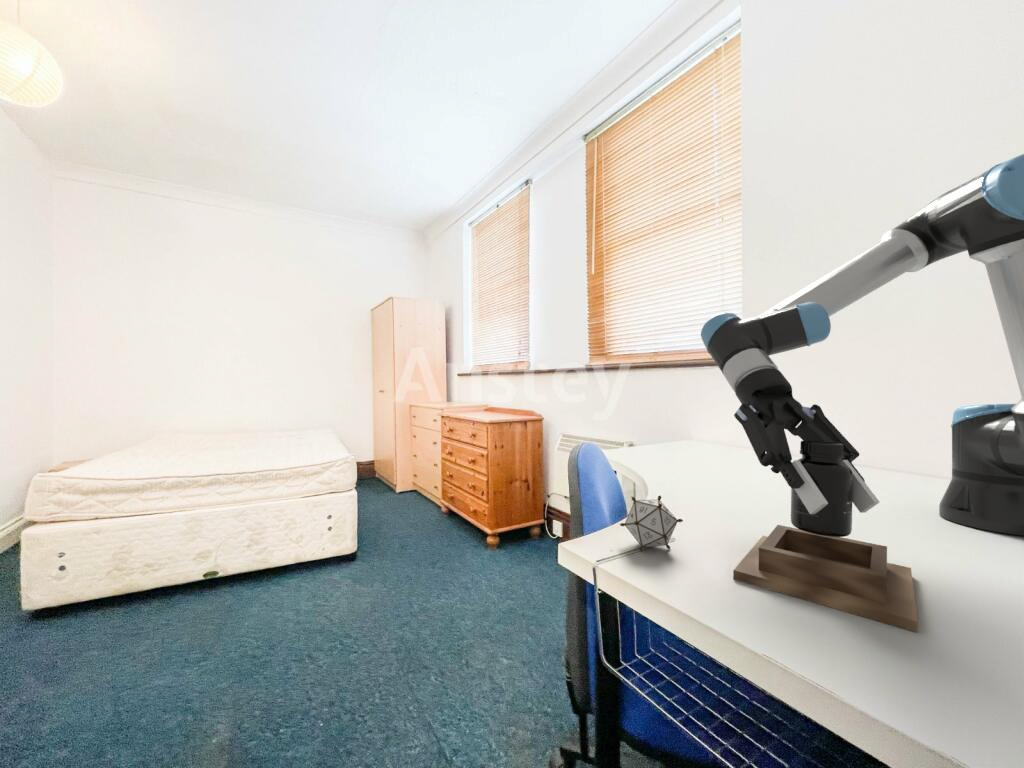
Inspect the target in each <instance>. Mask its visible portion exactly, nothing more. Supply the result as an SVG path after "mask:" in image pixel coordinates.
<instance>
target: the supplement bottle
mask: <svg viewBox="0 0 1024 768" xmlns="http://www.w3.org/2000/svg"><path fill="white" fill-rule="evenodd" d="M843 453H844V445H843V444H840V443H835V442H826V441H803V440H801V441H800V450H799V454H800V455H801V458H798V460H799V461H800V462H801V464H802V465H803V467H804V468H805V470H806V471H807V472H808V474H809V475H810V477H811V478H812V480H813V481H814V483H815V484H816V486H817V487H818V489H819V490H820V492H821V493H822V495H823V496H824V498H825V499H826V501H827V502H828V504H827V505H826V506H825V507H824V508H822V509H821V510H820V511H818V512H817V513H816V514H810V513H809V512H808V510H807V508H806V507H805V505H804V504H803V502H802V500H801V499H800V497H799V496H798V494H797V493H796V491H795V489H792V488H791V487H790V522H791V523H790V524H791V525H792V526H793V527H794V528H797V529H800V530H803V531H806V532H809V533H813V534H817V535H823V536H830V537H842V538H846V537H848V536H850V535H851V533H852V530H853V529H852V528H853V502H852V494H853V472H852V470H851V469H850V467H849V466H847V465H846V464H844V463H843V462H842V458H844V454H843Z"/></svg>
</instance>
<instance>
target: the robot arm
mask: <svg viewBox="0 0 1024 768" xmlns="http://www.w3.org/2000/svg"><path fill="white" fill-rule="evenodd" d="M963 252H968V253H967V254H968V256H969V259H970V260H971V259H972V260H975V261H977V262H980V263H982V264H984V267H985V269H986V272H987V276H988V280H989V283H990V286H991V287H990V288H991V290H992V294H993V298H994V302H995V305H996V308H997V313H998V316H999V320H1000V322H1001V326H1002V330H1003V335H1004V337H1005V342H1006V345H1007V349H1008V352H1009V356H1010V359H1011V363H1012V367H1013V371H1014V374H1015V378H1016V382H1017V386H1018V388H1019V392H1020V397H1021V398H1020V400H1019V401H1018V402H1017V403H995V404H989V403H988V404H975V405H964V406H960V407H958V408H956V409H955V410H954V412H953V416H952V423H951V424H950V428H951V480H950V482H949V484H948V486H947V489H946V490H945V492H944V494H943V496H942V498H941V500H940V501H939V505H938V515H939V516H940V517H941V518H944V519H946V520H948V521H950V522H953V523H955V524H956V523H957V524H959V525H964V526H968V527H971V528H976V529H980V530H985V531H989V532H990V531H991V532H994V533H1001V534H1007V535H1014V536H1015V535H1016V536H1022V537H1024V153H1022V154H1020V155H1017V156H1015V157H1013V158H1010V159H1008V160H1006V161H1003V162H1001V163H998V164H995V165H994V166H992V167H990V168H989V169H988V170H986V171H984V172H983V173H980V174H979V175H977V176H975V177H973V178H971V179H970V180H968V181H966V182H964V183H962V184H960V185H958V186H957V187H955V188H952V189H951V190H948V191H947V192H944V193H943V194H940V195H939V196H937V198H935V199H933V200H932V201H930V202H929V203H928V204H927V205H925V206H923V207H922V208H921V209H919V210H918V211H917V212H915V213H914V214H913V215H911V216H909V218H907V219H906V220H904V221H903V222H901V223H900V224H898V225H897V226H896V227H894V228H892V229H891V230H889V231H887V232H886V233H884V234H883V235H882V237H881V239H880V242H879V243H877V244H876V245H874V246H872V247H871V248H869V249H867V250H865V251H864V252H862V253H861V254H859V255H857V256H855V257H854V258H853V259H850V260H849V261H847V262H846V263H844V264H842V265H841V266H839V267H837V268H836V269H834V270H833V271H831V272H829V273H827V274H825V275H823V276H822V277H821V278H819V279H817V280H816V281H814V282H813V283H810V284H809V285H807V286H806V287H804V288H803V289H801V290H799V291H797V292H796V293H795V294H792V295H791V296H789V297H787V298H786V299H784V300H782V301H781V302H779V303H778V304H775V305H774V306H773V307H771V308H770V309H767V310H766V311H765V312H763V313H761V314H760V315H758V316H754V317H749V318H746V319H745V318H744V319H742V318H741V317H739V316H738V315H737V314H736V313H733V312H721V313H720V312H719V313H718V314H715V315H713V316H712V317H710V318H709V319H708V320H707V321H706V322H705V323H704V324H703V326H702V328H701V331H700V338H701V341H702V342H703V344H704V346H705V349H706V351H707V353H708V354H709V355H710V357H711V358H712V359H713V361H714V363H715V364H716V366H717V367H718V368H719V370H720V371H721V373H722V375H723V377H724V378H725V380H726V381H727V383H728V384H729V386H730V387H731V389H732V390H733V392H734V393H735V394H734V395H736V396H735V397H736V398H737V399H738V400H739V402H740V403H741V405H740V406H739V407H738V409H737V410H736V411H735V413H734V414H733V416H734V419H736V420H737V421H738V423H739V424H741V426H742V428H743V430H744V432H745V434H746V436H747V438H748V441H749V443H750V445H751V446H752V450H753V451H754V453H755V455H756V457H757V460H758V462H759V463H760V464H761V466H763V467H768V466H771V468H770V471H771V472H773V474H779V473H780V474H781V475H782V477H783V479H784V480H785V482H786V483H787V485H788V486H789V488H790V489H791V488H792V489H795V491H796V493H797V494H798V496H799V497H800V499H801V500H802V502H803V504H804V505H805V507H806V508H807V510H808V512H809V513H810V514H816V513H817V512H818V511H820V510H821V509H822V508H824V507H825V506H826V505H827V504H828V502H827V501H826V499H825V498H824V496H823V495H822V493H821V492H820V490H819V489H818V487H817V486H816V484H815V483H814V481H813V480H812V478H811V477H810V475H809V474H808V472H807V471H806V470H805V468H804V467H803V465H802V464H801V462H800V461H799V459H795V460H793V457H792V453H791V450H790V446H789V443H788V439H787V438H788V437H787V435H786V431H785V430H787V431H788V432H789V433H790V434H791V435H792V436H794V437H798V438H800V439H801V441H826V442H835V443H840V444H843V445H844V453H843V454H844V458H842V462H843V463H844V464H846V465H847V466H849V467H850V469H851V470H852V472H853V494H852V504H854V506H855V508H857V510H858V512H859V513H861V514H862V513H867V512H868V511H869V510H871V509H873V507H875V506H876V505H878V504H879V503H880V500H879V499H878V498H877V497H876V495H875V494H874V492H873V491H872V490H871V489H870V487H869V486H868V485H867V483H866V482H865V478H864V477H863V475H862V474H861V473H860V471H858V469H857V468H856V467H855V465H854V464H853V463H852V462H854V461H856V459H857V458H858V457H860V452H859V451H858V450H857V449H856V448H855V447H854V445H852V444H851V442H849V440H848V439H847V438H846V437H845V435H843V433H841V431H839V429H837V427H836V426H835V425H834V424H833V423H832V422H831V421H830V420H829V419H828V418H827V417H826V415H825V413H824V412H823V410H822V408H821V406H820V405H818V404H812V406H810V407H808V406H804V405H802V404H801V403H800V402H799V400H797V399H795V398H794V396H793V387H792V385H791V384H790V382H789V380H787V378H786V377H785V375H784V374H783V373H782V371H780V370H779V368H778V366H777V365H776V363H775V362H774V361H773V360H772V358H771V357H770V356H772V355H777V354H780V353H784V352H785V353H786V352H789V351H793V350H796V349H799V348H803V347H810V346H812V345H815V344H817V343H820V342H823V341H825V340H826V339H827V338H828V337H829V335H830V333H831V329H832V326H831V319H830V317H831V316H833V315H835V314H836V313H838V312H840V311H841V310H843V309H845V308H847V307H849V306H850V305H852V304H854V303H855V302H857V301H859V300H861V299H862V298H864V297H865V296H867V295H869V294H870V293H873V292H874V291H876V290H877V289H879V288H881V287H883V286H885V285H886V284H889V282H892V281H893V280H894V279H897V278H898V277H900V276H902V275H904V274H905V273H916V272H919V271H920V270H922V269H924V268H926V267H927V266H929V265H931V264H934V263H937V262H938V261H940V260H943V259H946V258H948V257H951V256H954V255H957V254H961V253H963Z"/></svg>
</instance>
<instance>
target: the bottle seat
mask: <svg viewBox="0 0 1024 768" xmlns="http://www.w3.org/2000/svg"><path fill="white" fill-rule="evenodd" d="M732 574H733V575H732V576H733V578H732V579H733V580H736V581H739V582H743V583H745V584H749V585H753V586H757V587H760V588H764V589H765V590H766V589H767V590H771V591H774V592H778V593H781V594H784V595H788V596H791V597H793V598H797V599H802V600H805V601H808V602H812V603H815V604H819V605H822V606H826V607H828V608H832V609H836V610H839V611H843V612H846V613H848V614H849V613H850V614H853V615H856V616H860V617H862V618H866V619H870V620H874V621H877V622H880V623H883V624H886V625H887V624H888V625H891V626H893V627H897V628H901V629H904V630H907V631H910V632H915V633H918V616H917V615H918V614H917V607H916V600H915V599H916V598H915V591H914V584H913V583H914V581H913V575H912V574H913V573H912V567H909V566H904V565H899V564H896V563H895V564H894V563H891V562H888V546H886V545H882V544H876V543H871V542H866V541H861V540H855V539H852V538H847V537H830V536H823V535H817V534H813V533H809V532H806V531H803V530H800V529H798V528H796V527H792V526H791V527H790V526H786V525H782V524H777V525H776V526H775V528H773V530H772V531H771V532H770V534H769V535H768V536H767V535H762V536H761V537H760V538H759V540H758V541H757V542H756V543H755V544H754V545H753V547H751V549H750V550H749V551H748V552H747V554H746V555H745V556H744V557H743V558H742V560H740V561H739V563H737V565H736V567H735V568H734V569H733V571H732Z"/></svg>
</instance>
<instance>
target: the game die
mask: <svg viewBox="0 0 1024 768" xmlns="http://www.w3.org/2000/svg"><path fill="white" fill-rule="evenodd" d="M661 499H662V496H661V495H658V496H657V499H641V500H640V499H639V500H637V499H636V497H634V496H631V500H632V502H633V503H632V506H631V508H630V511H629V512H628V515H627V518H626V520H625V523H624V522H621V523H620V524H619V526H621V527H626V529H627V531H628V532H629V533H630V534H631V535H632V536H633V538H634V539H635V540H636V541H637V543H638V544H639V545H640V547H639V551H640V550H644V548H646V547H661V546H662V547H663V546H665V547H666V549H668V550H671V546H670V545H669V543H670V540H671V538H672V535H673V532H674V531H675V529H676V526H677V524H678V523H682V522H683V521H684V520H683V519H682V518H678V519H677V518H676V517H675V515H674V514H673V513H672V512H671V511H670V510H669V508H667V506H665V504H664V503H663V502H662V501H661Z"/></svg>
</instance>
